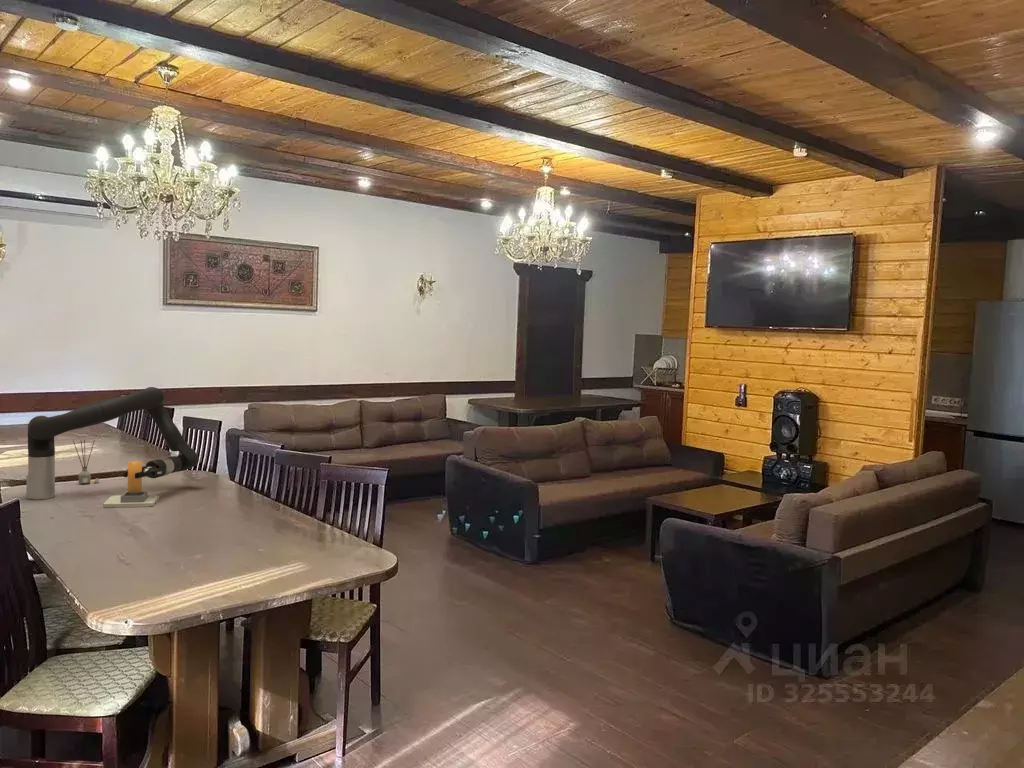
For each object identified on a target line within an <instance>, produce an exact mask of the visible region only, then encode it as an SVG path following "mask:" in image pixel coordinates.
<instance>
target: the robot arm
mask: <svg viewBox="0 0 1024 768" xmlns="http://www.w3.org/2000/svg"><path fill="white" fill-rule="evenodd" d="M164 396H165V395H164V393H163V391H162V390H161V389H159V388H158V387H155V386H148V387H146V388H143V389H141V390H138V391H137V392H133V393H130V394H128V395H123V396H116V397H111V398H105V399H101V400H97V401H93V402H89V403H87V404H84V405H81V406H79V407H76V408H74V409H72V410H70V411H68V412H65V413H62V414H57V415H53V416H47V415H37V416H35V417H32V419H30V420H29V422H28V424H27V464H28V465H27V469H28V470H27V475H26V476H25V478H26V480H25V481H26V485H25V486H26V494H25V495H26V498H25V499H26V500H27V499H28V500H47V499H48V500H49V499H51V498H52V499H53V498H54V497H55V496H56V494H55V493H56V489H55V488H56V478H55V477H56V461H55V460H56V447H55V437H56V436H58V435H62V434H64V433H66V432H70V431H74V430H79V429H83V428H87V427H91V426H95V425H100V424H103V423H106V422H107V423H108V422H109V421H113V420H115V419H118V418H121V417H122V416H125V415H127V414H130V413H133V412H137V411H141V410H146V412H147V413H148V414H149V416H150V417H151V419H152V420H153V421H154V423H155V425H156V427H157V428H158V430H159V433H160V434H161V436H162V437H163V440H164V441H165V444H166V446H167V447H168V449H169V450H170V451H171V452H173V453H174V452H178V453H181V454H179V455H177V456H175V455H173V456H169V457H161V458H158V459H153V460H149V461H148V462H146V464H145V465H142V472H138V473H135V478H136V479H138V478H141V477H142V478H150V479H158V478H161V477H165V476H168V475H170V474H173V473H177V472H178V473H179V472H183V471H187V470H188V469H189V470H190V468H193V467H195V466H197V465H198V464H199V461H200V459H199V455H198V453H197V452H196V451H195V450H194V449H193V448H192V447H191V446H190V444H188V443H187V442H186V441H185V438H184V437H183V435H182V433H181V432H180V430H179V429H178V427H177V425H176V424H175V422H174V421H173V420H172V419H171V418H170V417H171V416H170V415H169V413H168V412H167V410H166V408H165V404H164V403H163V401H164ZM122 476H123V478H128V468H127V469H126V470H125V471H123V473H122Z"/></svg>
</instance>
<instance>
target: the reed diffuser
mask: <svg viewBox="0 0 1024 768" xmlns="http://www.w3.org/2000/svg"><path fill="white" fill-rule="evenodd" d="M83 441H84V442H83V443H82V441H80V447H81V453H82V455H86V439H83ZM72 442H73V445H74V448H75V450H76V453H77V456H78V458H79V462H80V464H81V469H82V470H81V472H79V473H78V477H77V478H78V483H79V484H89V483H91V482H93V483H94V484H99V483H100V479H99V478H97V477H96V478H95V479H94V480H92V481H91V478H92V476H91V474H92V473H91V472H89V471H88V464H89V460H90V457H91V455H92V454H91V453H92V451H93V447H94V444H95V439H94V440H93V442H92V445H91V449H90V452H89V456H88V459H87V462H86V463H85V456H82V460H81V458H80V455H79V451H78V449H77V445H76V444H75V441H74V440H73V441H72ZM83 444H84V446H83ZM83 448H84V450H83ZM82 461H83V463H82Z"/></svg>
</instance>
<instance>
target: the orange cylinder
mask: <svg viewBox="0 0 1024 768" xmlns="http://www.w3.org/2000/svg"><path fill="white" fill-rule="evenodd" d="M142 463H143V461H141V460H131V461H127V469H128V477H127V492H130V493H137V492H142V488H143V487H142V486H143V481H142V480H143V479H142V478H143V477H141V478H138V479H136V478H135V473H138V472H142V466H143V464H142Z"/></svg>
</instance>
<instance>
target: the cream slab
mask: <svg viewBox="0 0 1024 768" xmlns="http://www.w3.org/2000/svg"><path fill="white" fill-rule="evenodd" d="M148 493H149V492H148V490H147V491H146V490H145V491H141V492H137V493H130V492H128V491H124V492H123V494H121V495H110V496H109V498H108V499H107V500H106V501H105V502H104V503H102V508H103V509H107V508H106V507H121V508H148V507H147V506H153V507H155V505H156V504H157V502H158V501H159V500H158V499H160V494H152V495H151V494H148ZM155 503H156V504H155ZM145 506H146V507H145ZM104 507H105V508H104Z"/></svg>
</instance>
